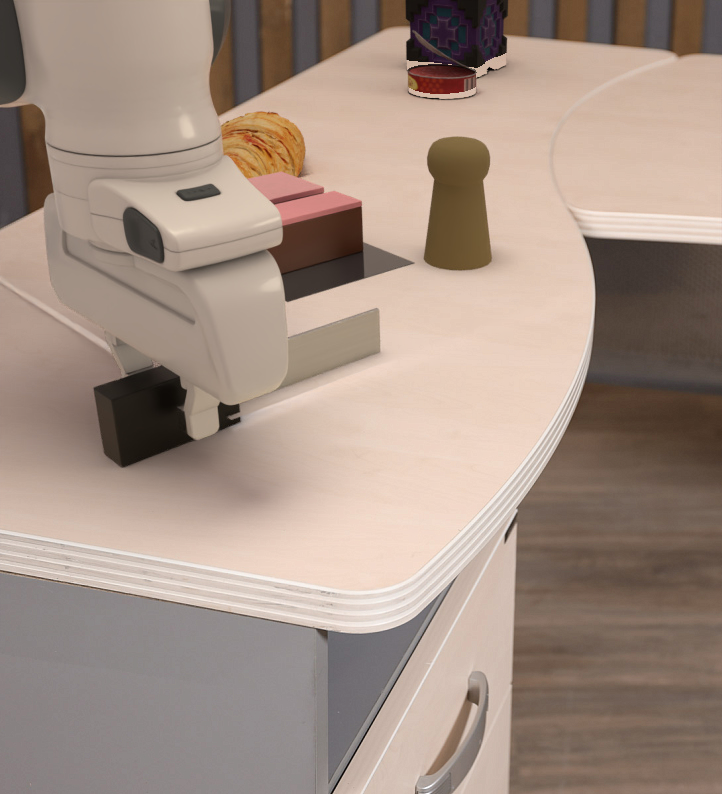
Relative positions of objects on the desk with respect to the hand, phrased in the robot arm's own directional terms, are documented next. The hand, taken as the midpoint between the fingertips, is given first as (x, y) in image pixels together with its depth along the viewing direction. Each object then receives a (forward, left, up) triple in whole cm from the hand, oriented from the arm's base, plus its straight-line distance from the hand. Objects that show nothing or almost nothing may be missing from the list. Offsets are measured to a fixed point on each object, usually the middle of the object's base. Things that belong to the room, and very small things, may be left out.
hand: (171, 414), depth 65 cm
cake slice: (-18, +23, -1) cm, 29 cm away
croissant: (-43, +35, -2) cm, 55 cm away
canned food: (-63, +80, -2) cm, 102 cm away
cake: (-20, +23, -2) cm, 31 cm away
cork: (-10, +33, -2) cm, 35 cm away
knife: (0, +6, -2) cm, 6 cm away
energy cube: (-75, +94, -2) cm, 120 cm away
